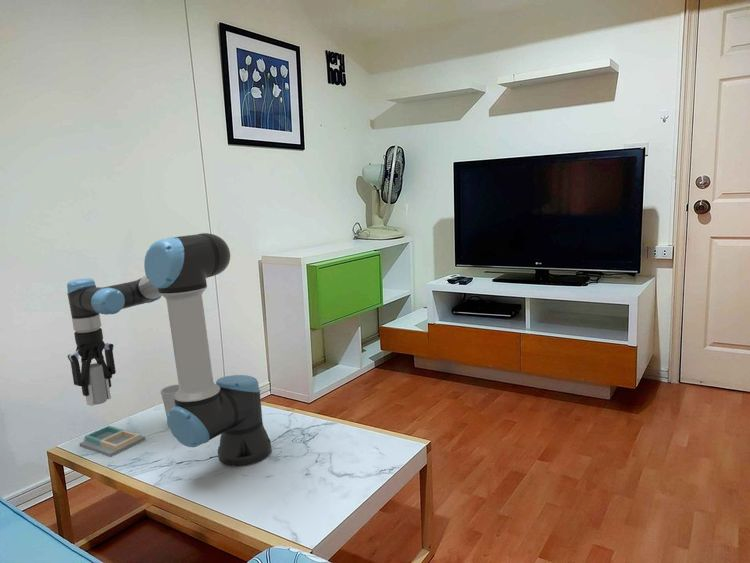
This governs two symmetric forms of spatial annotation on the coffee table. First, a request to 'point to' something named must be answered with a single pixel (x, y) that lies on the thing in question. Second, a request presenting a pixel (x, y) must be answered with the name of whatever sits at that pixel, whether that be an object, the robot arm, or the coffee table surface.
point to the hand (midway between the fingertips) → (99, 401)
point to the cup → (169, 397)
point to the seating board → (111, 440)
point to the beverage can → (97, 383)
